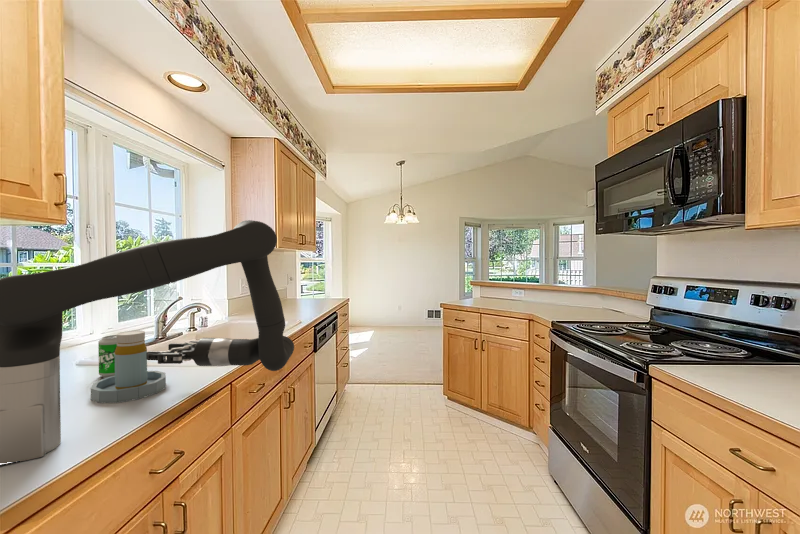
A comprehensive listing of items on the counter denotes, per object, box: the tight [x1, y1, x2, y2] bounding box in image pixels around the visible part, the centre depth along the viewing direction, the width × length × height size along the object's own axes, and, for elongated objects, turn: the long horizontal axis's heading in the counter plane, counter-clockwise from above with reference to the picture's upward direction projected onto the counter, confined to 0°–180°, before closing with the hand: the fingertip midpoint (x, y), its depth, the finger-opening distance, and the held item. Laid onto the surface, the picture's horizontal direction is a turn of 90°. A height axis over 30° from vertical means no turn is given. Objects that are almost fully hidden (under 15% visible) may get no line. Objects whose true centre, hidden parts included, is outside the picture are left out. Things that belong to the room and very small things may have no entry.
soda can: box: [97, 334, 117, 379], centre depth 109 cm, size 8×8×12 cm
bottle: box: [115, 329, 148, 389], centre depth 96 cm, size 7×7×15 cm
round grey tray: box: [90, 370, 167, 404], centre depth 97 cm, size 16×16×3 cm
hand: (158, 351), depth 96 cm, fingers open, 8 cm apart
